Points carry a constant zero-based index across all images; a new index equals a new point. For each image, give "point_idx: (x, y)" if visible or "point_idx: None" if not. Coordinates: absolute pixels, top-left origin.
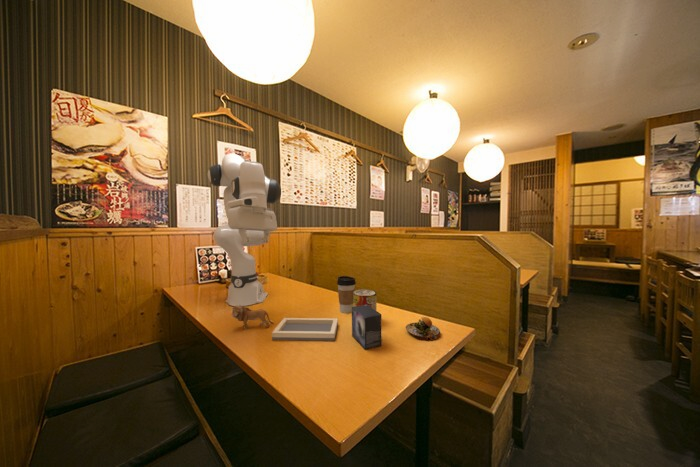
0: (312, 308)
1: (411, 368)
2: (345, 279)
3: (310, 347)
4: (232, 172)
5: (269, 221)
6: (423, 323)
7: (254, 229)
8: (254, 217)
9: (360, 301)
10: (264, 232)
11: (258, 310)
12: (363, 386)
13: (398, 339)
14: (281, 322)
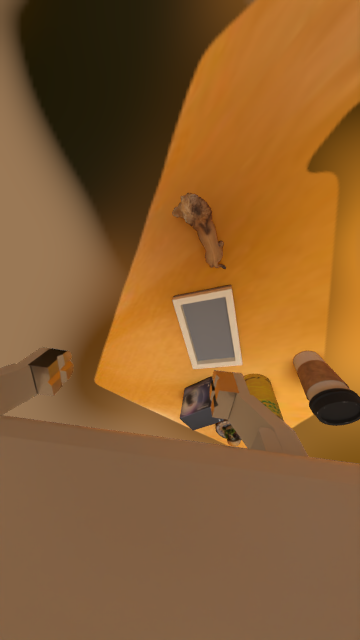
0: (324, 301)
1: (168, 412)
2: (342, 409)
3: (172, 344)
4: None
5: None
6: (230, 438)
7: (125, 449)
8: None
9: None
10: (257, 447)
11: (209, 252)
12: (136, 389)
13: None
14: (211, 294)
